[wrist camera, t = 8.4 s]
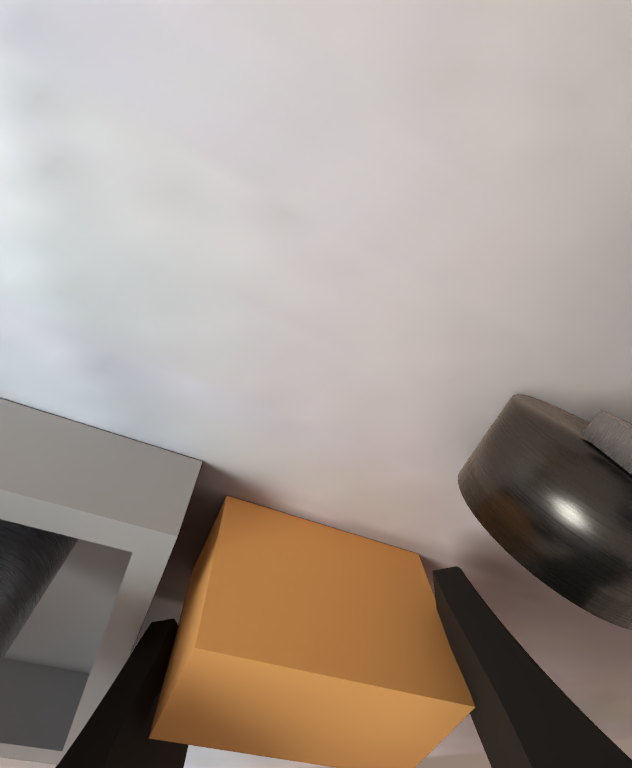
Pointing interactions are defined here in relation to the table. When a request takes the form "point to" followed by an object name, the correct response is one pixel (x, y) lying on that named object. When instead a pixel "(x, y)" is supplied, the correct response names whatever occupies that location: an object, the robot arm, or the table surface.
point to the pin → (26, 573)
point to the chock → (309, 648)
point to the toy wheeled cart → (559, 501)
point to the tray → (82, 567)
